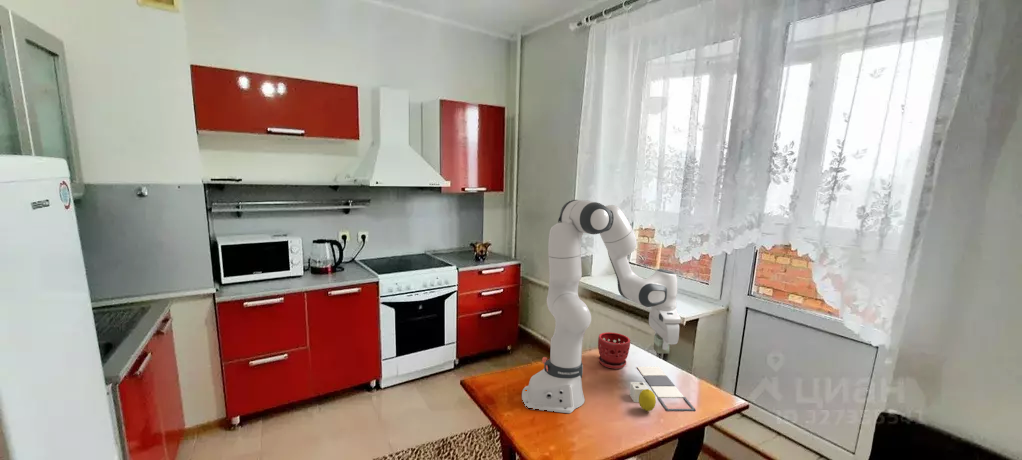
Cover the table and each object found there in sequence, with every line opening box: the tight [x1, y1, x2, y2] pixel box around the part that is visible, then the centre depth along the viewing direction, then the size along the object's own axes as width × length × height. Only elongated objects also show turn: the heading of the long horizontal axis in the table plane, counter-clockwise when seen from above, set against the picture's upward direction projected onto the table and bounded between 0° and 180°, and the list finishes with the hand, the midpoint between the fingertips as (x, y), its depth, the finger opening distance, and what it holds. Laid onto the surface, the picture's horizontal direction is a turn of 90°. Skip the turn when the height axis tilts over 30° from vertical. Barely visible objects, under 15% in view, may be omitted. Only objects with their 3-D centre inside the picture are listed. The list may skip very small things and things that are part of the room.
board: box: [636, 366, 696, 412], centre depth 156 cm, size 10×32×1 cm, turn 1°
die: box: [629, 381, 649, 403], centre depth 147 cm, size 5×5×5 cm
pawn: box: [652, 333, 671, 354], centre depth 157 cm, size 4×4×9 cm
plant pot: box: [597, 331, 631, 370], centre depth 173 cm, size 13×13×12 cm
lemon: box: [638, 388, 657, 412], centre depth 139 cm, size 6×6×8 cm
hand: (661, 345), depth 158 cm, fingers closed on pawn, 4 cm apart
